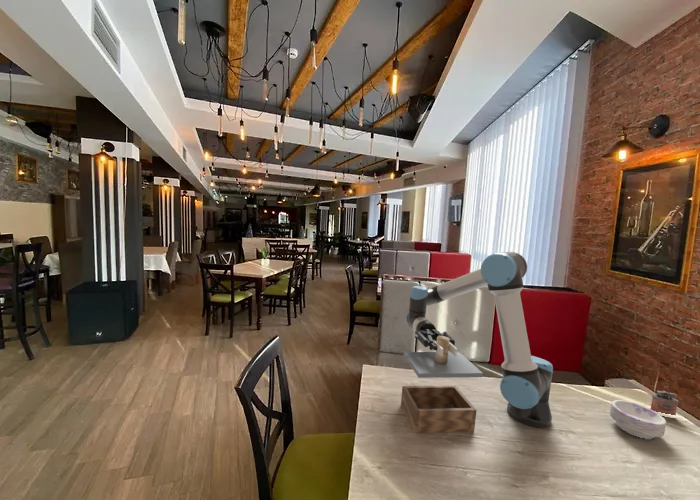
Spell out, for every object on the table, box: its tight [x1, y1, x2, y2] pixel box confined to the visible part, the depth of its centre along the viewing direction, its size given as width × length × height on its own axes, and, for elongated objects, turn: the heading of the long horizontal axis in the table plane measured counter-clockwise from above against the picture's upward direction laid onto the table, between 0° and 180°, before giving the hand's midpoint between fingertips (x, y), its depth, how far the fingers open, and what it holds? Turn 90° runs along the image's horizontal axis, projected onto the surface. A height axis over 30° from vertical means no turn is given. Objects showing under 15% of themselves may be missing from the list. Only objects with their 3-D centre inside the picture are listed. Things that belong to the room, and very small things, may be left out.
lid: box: [403, 336, 484, 379], centre depth 115 cm, size 23×17×10 cm
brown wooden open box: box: [400, 385, 477, 434], centre depth 117 cm, size 22×16×8 cm
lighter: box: [650, 390, 679, 416], centre depth 128 cm, size 8×3×10 cm, turn 68°
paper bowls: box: [609, 399, 667, 440], centre depth 117 cm, size 15×15×8 cm
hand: (448, 352), depth 109 cm, fingers closed on lid, 4 cm apart
